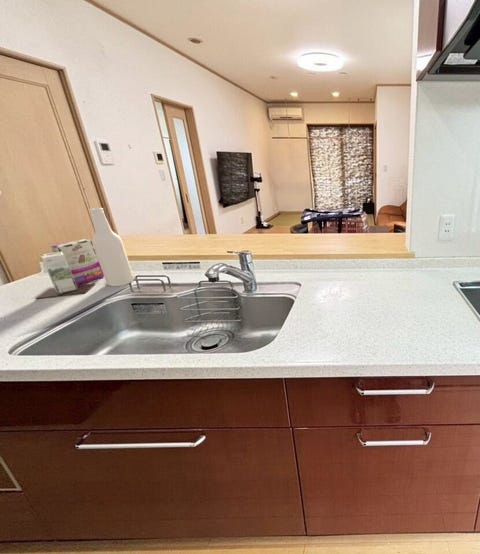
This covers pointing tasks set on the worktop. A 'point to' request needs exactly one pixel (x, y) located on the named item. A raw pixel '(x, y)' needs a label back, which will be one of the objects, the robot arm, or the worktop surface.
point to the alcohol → (110, 251)
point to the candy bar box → (81, 260)
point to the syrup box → (59, 272)
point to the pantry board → (52, 292)
